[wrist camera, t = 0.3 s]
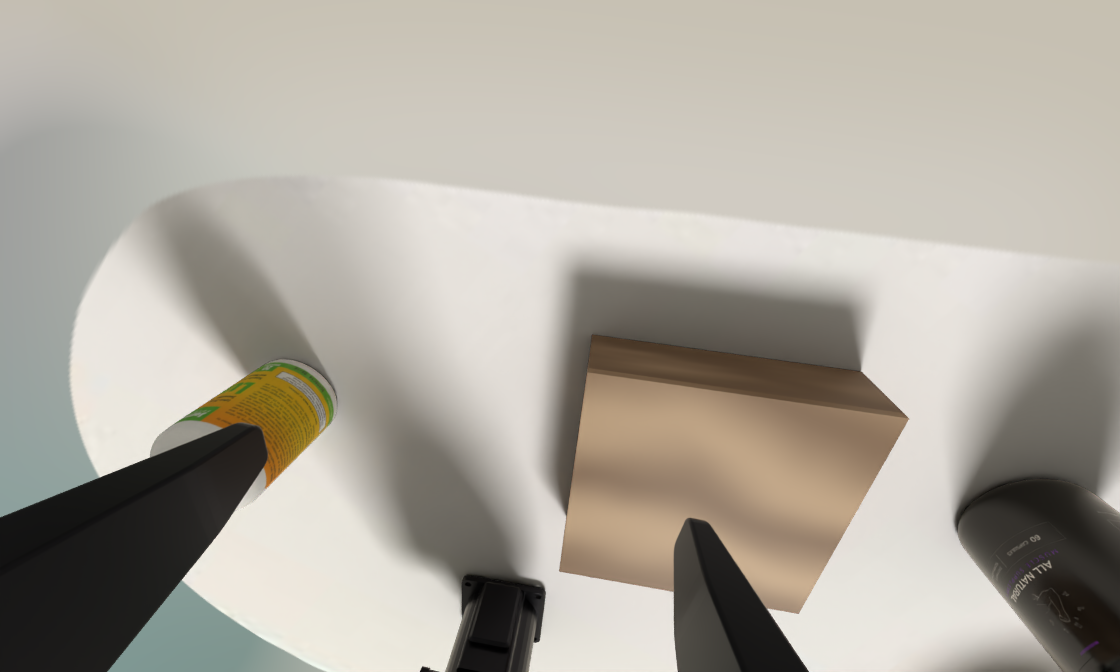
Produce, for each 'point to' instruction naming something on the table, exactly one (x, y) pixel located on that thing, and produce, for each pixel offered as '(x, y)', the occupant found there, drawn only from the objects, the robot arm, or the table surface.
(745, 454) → the block
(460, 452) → the table surface
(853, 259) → the table surface
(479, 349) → the table surface
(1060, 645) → the supplement bottle
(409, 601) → the table surface
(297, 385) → the supplement bottle
